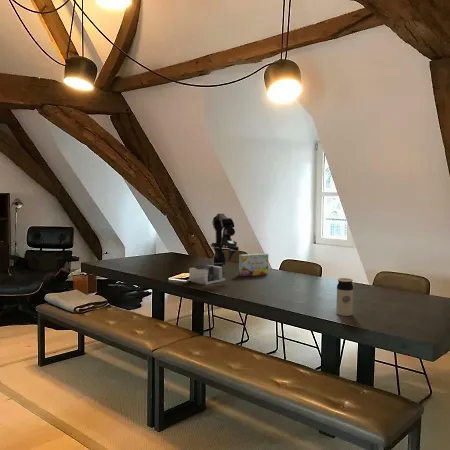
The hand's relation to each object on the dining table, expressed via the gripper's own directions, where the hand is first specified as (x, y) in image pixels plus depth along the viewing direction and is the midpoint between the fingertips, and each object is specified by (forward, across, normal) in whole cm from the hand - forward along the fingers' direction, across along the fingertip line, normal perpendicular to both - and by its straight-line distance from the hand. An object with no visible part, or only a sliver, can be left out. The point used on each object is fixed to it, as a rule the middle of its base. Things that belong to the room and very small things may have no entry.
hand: (223, 259), depth 335 cm
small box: (+16, -9, +6) cm, 19 cm away
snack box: (+8, +32, +9) cm, 34 cm away
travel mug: (+21, +16, -101) cm, 104 cm away
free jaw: (+14, 0, +9) cm, 17 cm away
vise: (+16, -7, +6) cm, 19 cm away
